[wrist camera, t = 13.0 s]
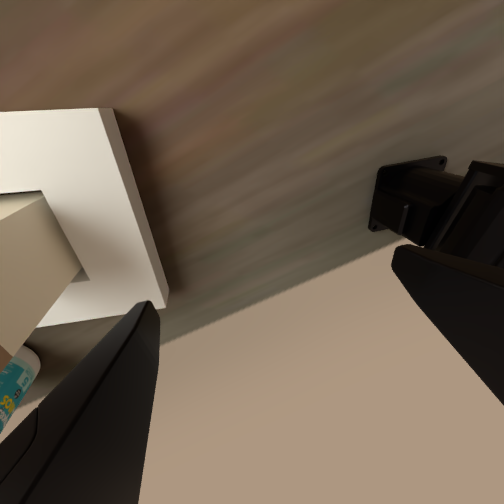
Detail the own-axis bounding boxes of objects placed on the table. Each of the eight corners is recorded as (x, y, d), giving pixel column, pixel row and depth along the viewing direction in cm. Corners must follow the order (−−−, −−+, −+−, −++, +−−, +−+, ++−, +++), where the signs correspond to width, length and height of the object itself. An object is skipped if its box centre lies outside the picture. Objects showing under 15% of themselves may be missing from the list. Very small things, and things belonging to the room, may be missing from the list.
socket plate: (112, 108, 15) (97, 107, 13) (169, 290, 24) (166, 307, 22) (-186, 121, 13) (-260, 123, 11) (-5, 315, 22) (-27, 337, 19)
